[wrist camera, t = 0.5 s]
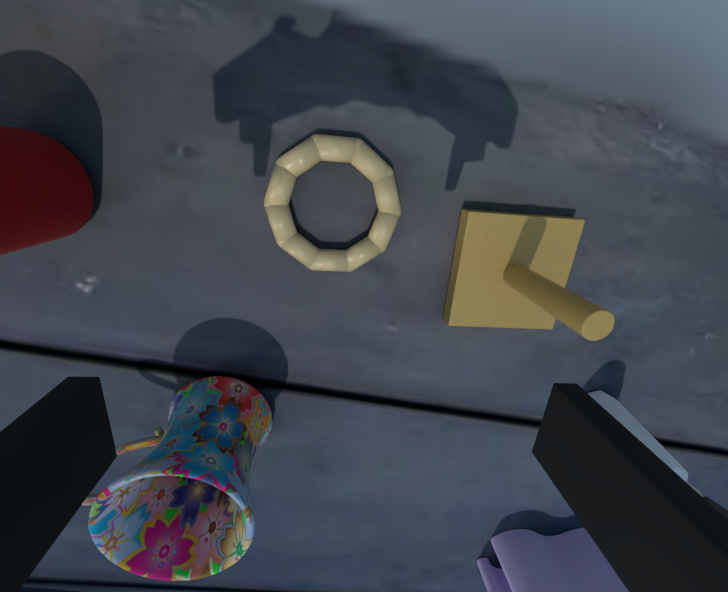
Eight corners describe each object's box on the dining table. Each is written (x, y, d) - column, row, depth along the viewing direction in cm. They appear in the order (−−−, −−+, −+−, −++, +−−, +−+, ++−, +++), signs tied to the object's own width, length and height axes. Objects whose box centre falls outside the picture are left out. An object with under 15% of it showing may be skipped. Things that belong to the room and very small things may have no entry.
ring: (264, 129, 23) (260, 127, 21) (406, 143, 24) (411, 141, 22) (267, 264, 26) (263, 270, 25) (392, 270, 27) (395, 276, 26)
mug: (286, 375, 30) (264, 481, 20) (270, 458, 33) (243, 586, 23) (135, 352, 28) (26, 457, 18) (133, 442, 31) (39, 575, 21)
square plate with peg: (461, 208, 26) (540, 235, 16) (572, 217, 27) (710, 247, 17) (442, 318, 29) (499, 396, 19) (542, 322, 30) (645, 398, 20)
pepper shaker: (575, 442, 35) (674, 555, 25) (553, 409, 34) (651, 517, 23) (623, 414, 35) (746, 519, 24) (603, 379, 33) (727, 476, 23)
